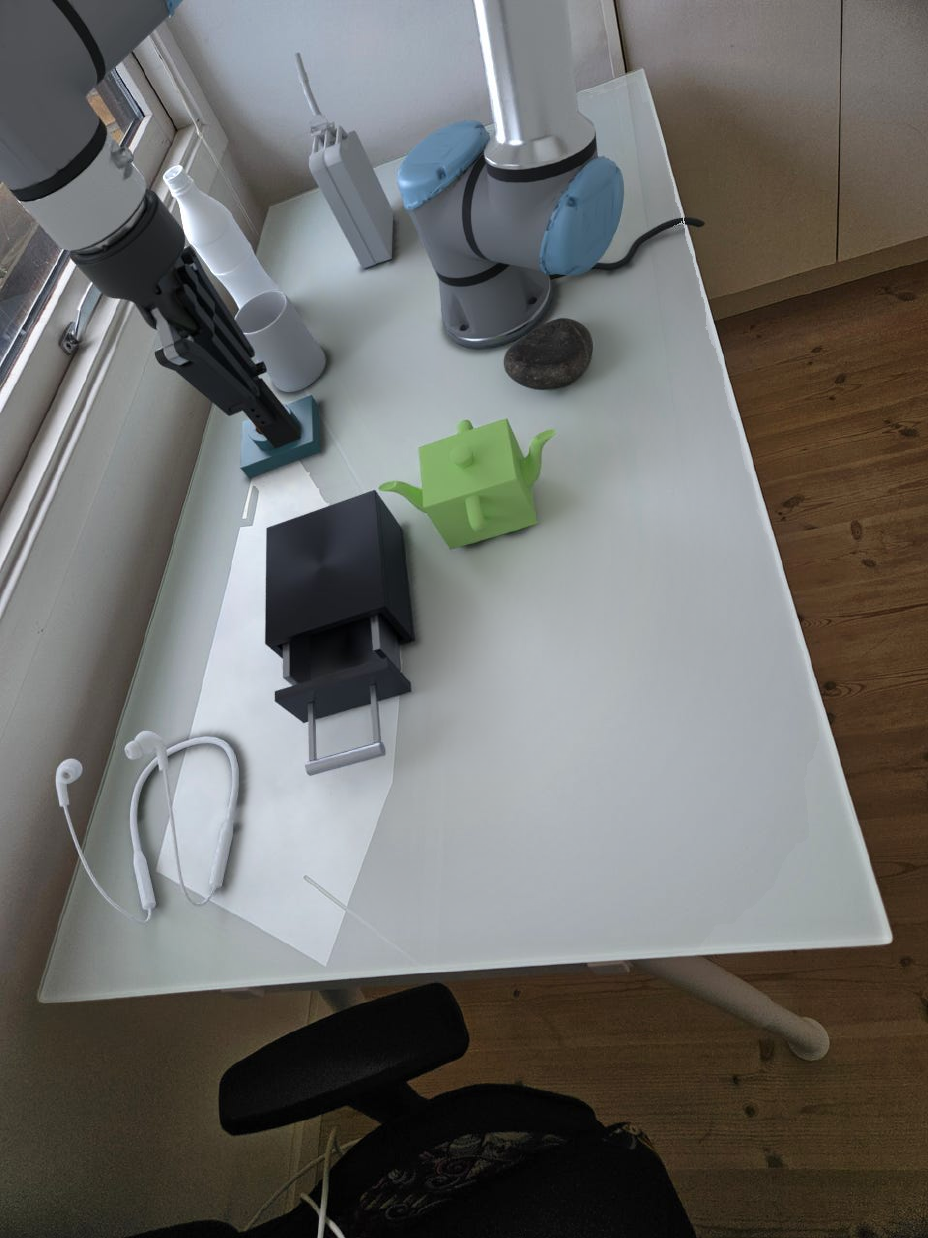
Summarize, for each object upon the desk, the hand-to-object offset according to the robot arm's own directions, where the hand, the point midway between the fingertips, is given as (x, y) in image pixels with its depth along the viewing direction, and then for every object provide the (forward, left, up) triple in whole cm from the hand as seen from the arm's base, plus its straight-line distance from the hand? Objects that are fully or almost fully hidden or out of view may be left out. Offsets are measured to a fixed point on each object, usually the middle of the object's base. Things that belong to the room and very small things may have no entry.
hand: (287, 437), depth 75 cm
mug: (+11, -42, -23) cm, 50 cm away
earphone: (+26, +25, -23) cm, 43 cm away
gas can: (-3, -65, -23) cm, 70 cm away
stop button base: (+14, -27, -23) cm, 39 cm away
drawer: (+5, +14, -22) cm, 27 cm away
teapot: (-13, -3, -23) cm, 27 cm away
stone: (-24, -22, -23) cm, 40 cm away
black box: (+5, +3, -23) cm, 24 cm away
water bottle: (+16, -55, -23) cm, 62 cm away
